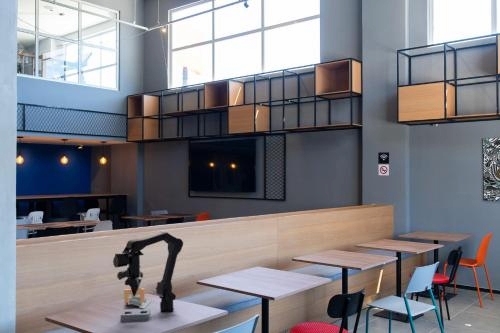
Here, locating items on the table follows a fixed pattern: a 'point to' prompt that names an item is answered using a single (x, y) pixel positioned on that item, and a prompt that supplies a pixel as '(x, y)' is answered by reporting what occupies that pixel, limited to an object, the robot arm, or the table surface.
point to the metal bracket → (138, 302)
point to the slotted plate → (135, 315)
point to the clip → (139, 291)
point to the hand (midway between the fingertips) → (134, 294)
